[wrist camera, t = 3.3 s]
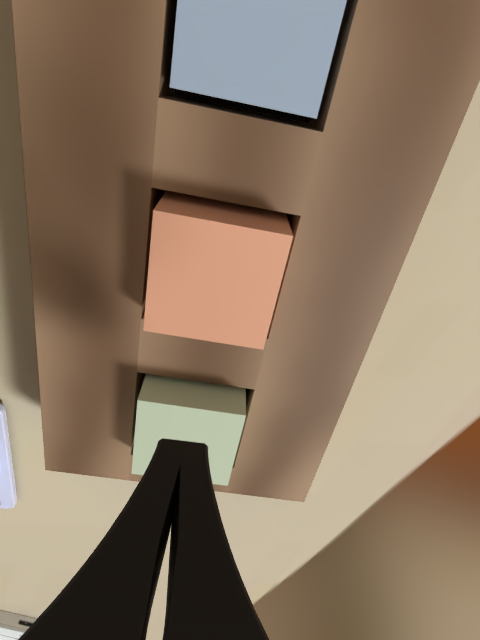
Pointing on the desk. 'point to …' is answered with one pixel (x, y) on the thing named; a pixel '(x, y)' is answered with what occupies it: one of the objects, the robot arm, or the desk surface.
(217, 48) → the slate button
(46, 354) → the button panel
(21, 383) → the desk surface
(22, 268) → the desk surface
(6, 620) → the hard drive
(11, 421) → the desk surface
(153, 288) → the terracotta button
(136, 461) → the sage button
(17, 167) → the desk surface
